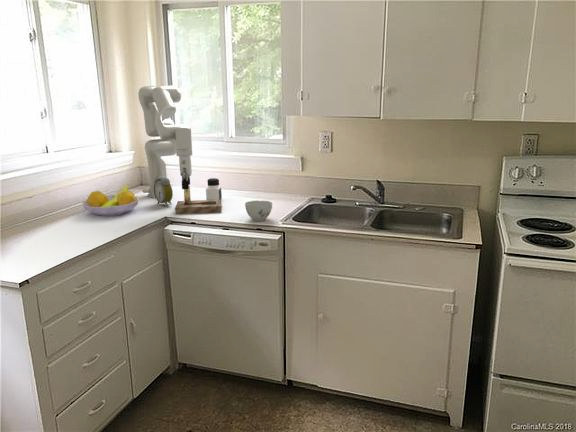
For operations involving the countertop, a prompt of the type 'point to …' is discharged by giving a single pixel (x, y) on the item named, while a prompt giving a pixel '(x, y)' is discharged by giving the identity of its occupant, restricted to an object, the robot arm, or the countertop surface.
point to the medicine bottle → (213, 190)
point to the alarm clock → (163, 190)
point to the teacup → (258, 209)
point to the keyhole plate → (199, 207)
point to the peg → (187, 196)
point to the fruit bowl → (110, 202)
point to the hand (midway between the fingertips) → (186, 186)
